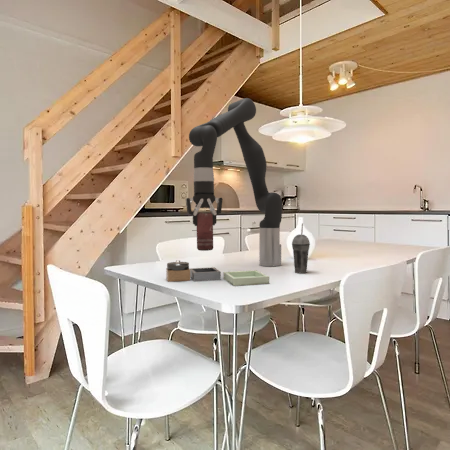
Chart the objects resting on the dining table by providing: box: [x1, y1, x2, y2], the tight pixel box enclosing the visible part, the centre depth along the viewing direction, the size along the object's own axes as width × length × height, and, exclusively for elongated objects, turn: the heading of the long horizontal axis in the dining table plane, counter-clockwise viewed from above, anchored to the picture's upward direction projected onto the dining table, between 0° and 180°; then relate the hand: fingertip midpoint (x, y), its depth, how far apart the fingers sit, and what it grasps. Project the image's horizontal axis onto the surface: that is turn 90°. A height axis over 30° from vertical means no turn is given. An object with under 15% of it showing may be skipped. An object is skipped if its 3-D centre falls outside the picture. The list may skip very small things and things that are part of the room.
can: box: [196, 212, 214, 252], centre depth 134 cm, size 6×6×14 cm
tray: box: [223, 270, 270, 287], centre depth 129 cm, size 13×13×2 cm
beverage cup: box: [291, 223, 311, 274], centre depth 145 cm, size 7×7×20 cm
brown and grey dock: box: [165, 260, 222, 283], centre depth 134 cm, size 19×10×7 cm, turn 105°
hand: (204, 225), depth 134 cm, fingers closed on can, 6 cm apart
